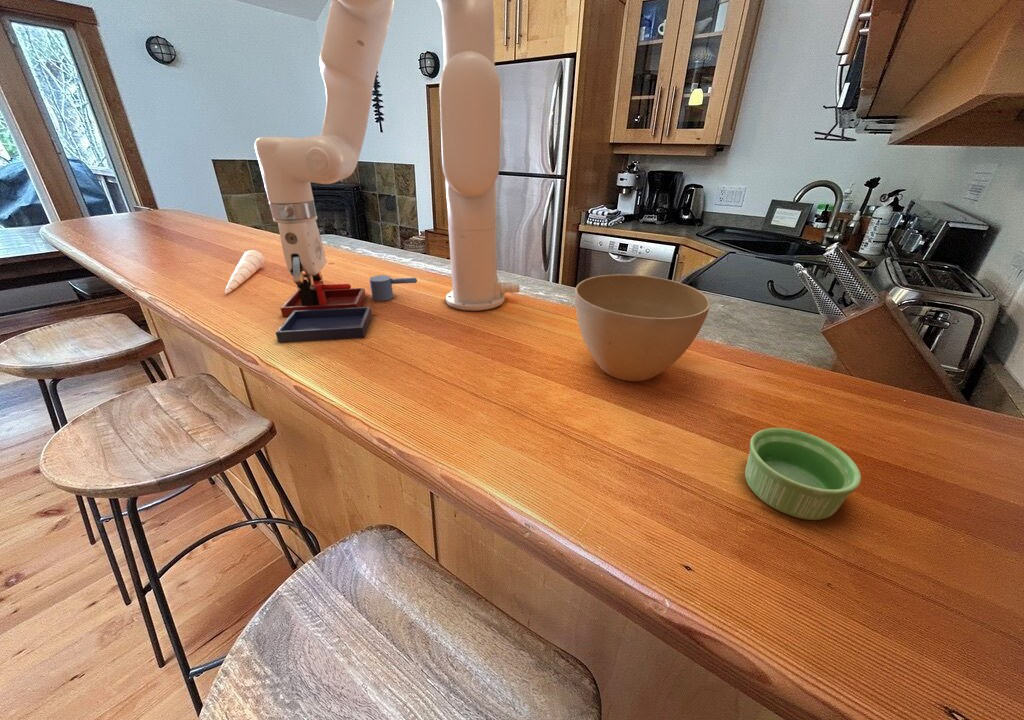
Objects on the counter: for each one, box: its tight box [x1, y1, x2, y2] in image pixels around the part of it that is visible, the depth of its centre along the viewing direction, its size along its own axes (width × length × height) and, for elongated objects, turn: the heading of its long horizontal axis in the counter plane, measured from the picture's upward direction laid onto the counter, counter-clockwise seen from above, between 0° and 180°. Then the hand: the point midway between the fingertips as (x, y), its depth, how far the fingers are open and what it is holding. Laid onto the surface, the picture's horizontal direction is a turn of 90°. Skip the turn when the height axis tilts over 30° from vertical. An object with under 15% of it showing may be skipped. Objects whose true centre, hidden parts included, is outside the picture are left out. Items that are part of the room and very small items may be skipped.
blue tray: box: [275, 306, 373, 343], centre depth 75 cm, size 14×10×2 cm
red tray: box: [280, 287, 367, 318], centre depth 86 cm, size 14×10×2 cm
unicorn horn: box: [224, 249, 266, 295], centre depth 100 cm, size 5×24×5 cm, turn 10°
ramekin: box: [744, 427, 862, 521], centre depth 40 cm, size 9×9×4 cm
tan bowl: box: [574, 273, 711, 382], centre depth 60 cm, size 18×18×12 cm
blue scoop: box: [369, 274, 418, 302], centre depth 90 cm, size 10×4×4 cm, turn 99°
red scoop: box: [313, 281, 352, 305], centre depth 85 cm, size 10×4×4 cm, turn 99°
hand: (315, 303), depth 85 cm, fingers closed on red scoop, 4 cm apart
